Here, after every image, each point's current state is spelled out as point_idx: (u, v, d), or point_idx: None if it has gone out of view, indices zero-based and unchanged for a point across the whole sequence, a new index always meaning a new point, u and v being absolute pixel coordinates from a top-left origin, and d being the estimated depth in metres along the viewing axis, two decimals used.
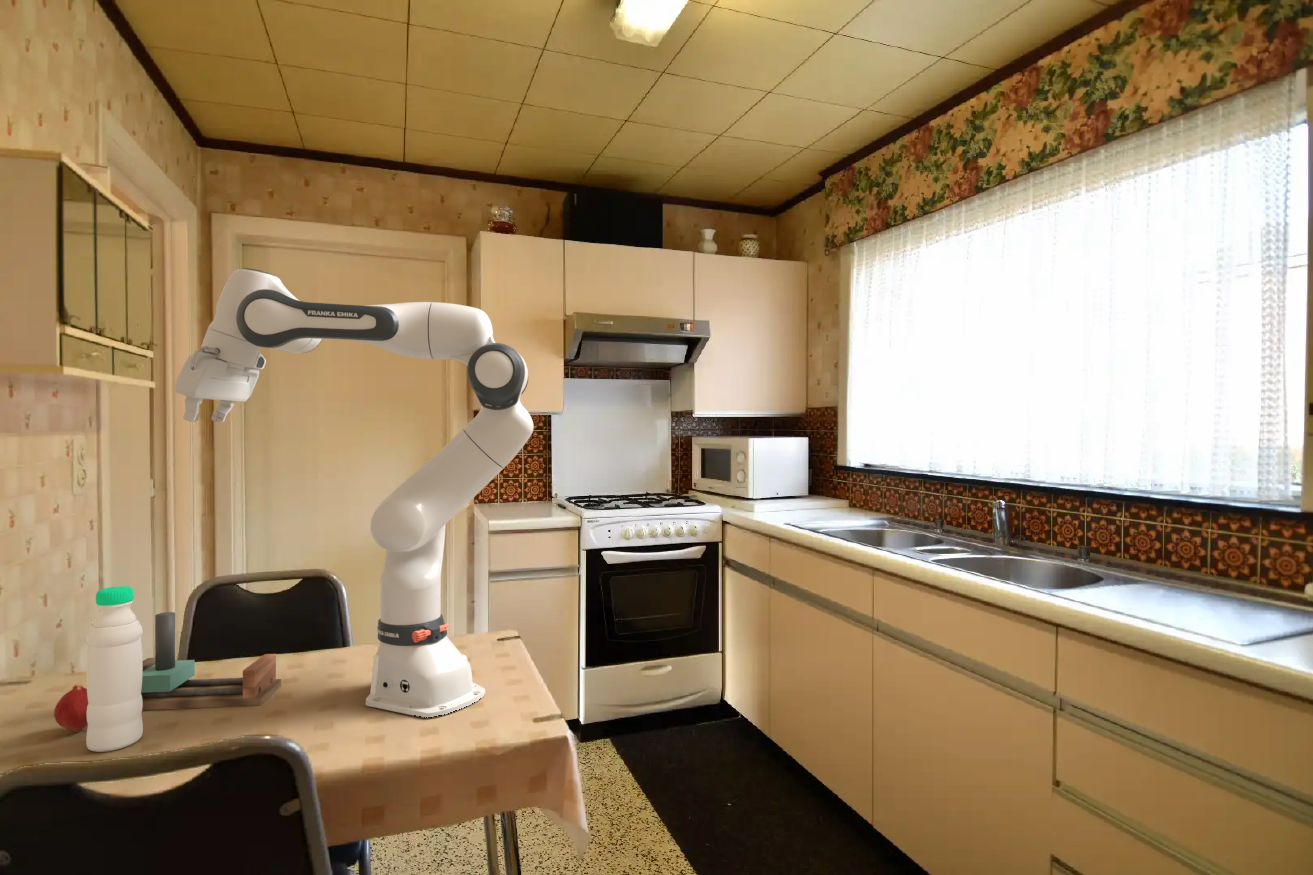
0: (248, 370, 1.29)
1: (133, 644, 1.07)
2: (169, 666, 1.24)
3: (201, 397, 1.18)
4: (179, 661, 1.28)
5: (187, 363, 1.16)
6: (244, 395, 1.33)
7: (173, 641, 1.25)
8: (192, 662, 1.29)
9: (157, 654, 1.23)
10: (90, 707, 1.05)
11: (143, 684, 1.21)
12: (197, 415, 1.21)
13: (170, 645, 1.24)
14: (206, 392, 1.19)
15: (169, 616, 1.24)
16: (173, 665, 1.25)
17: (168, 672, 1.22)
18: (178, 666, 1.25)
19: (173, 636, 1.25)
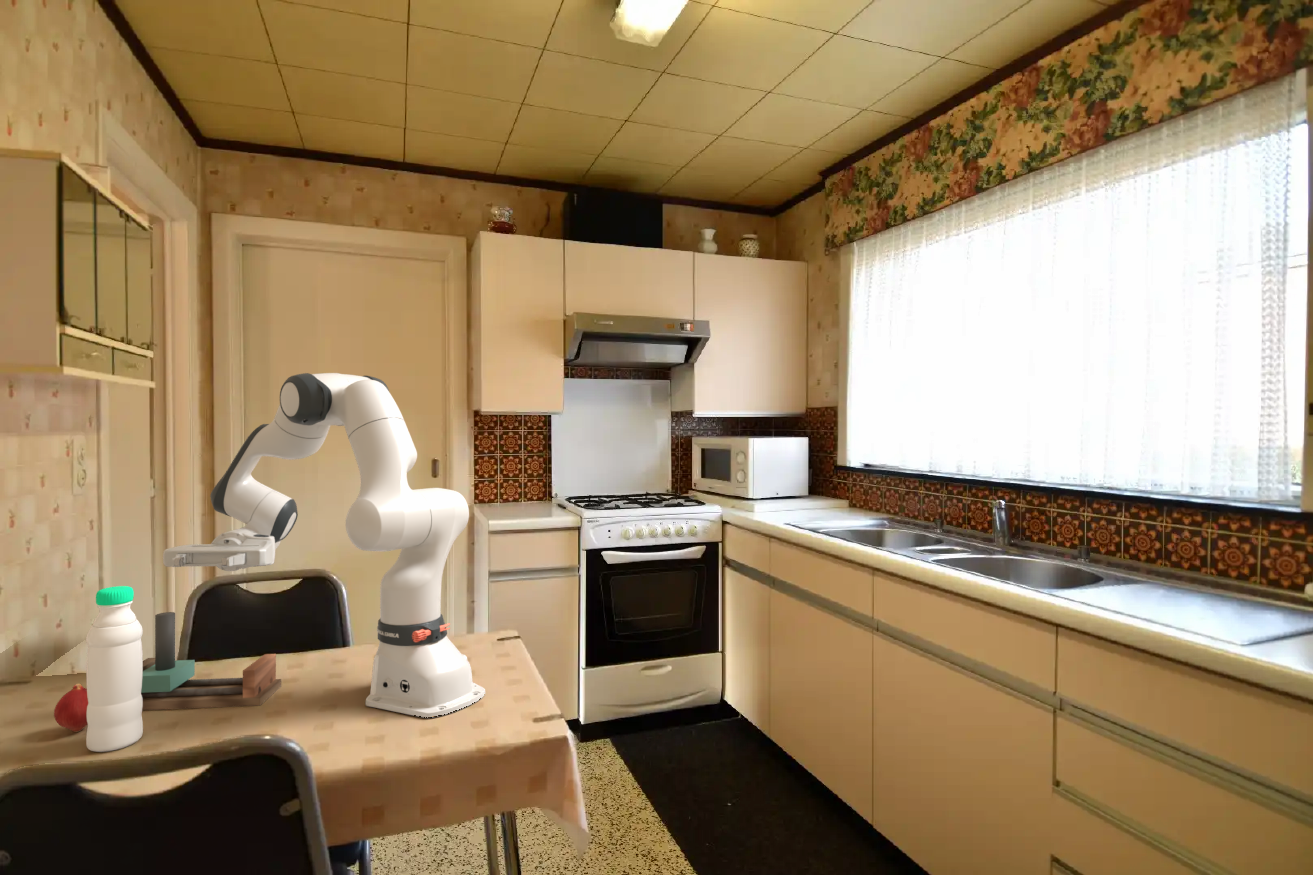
0: (245, 540, 1.48)
1: (133, 644, 1.07)
2: (169, 666, 1.24)
3: (176, 550, 1.41)
4: (179, 661, 1.28)
5: None
6: (254, 548, 1.44)
7: (173, 641, 1.25)
8: (192, 662, 1.29)
9: (157, 654, 1.23)
10: (90, 707, 1.05)
11: (143, 684, 1.21)
12: (180, 557, 1.37)
13: (170, 645, 1.24)
14: (182, 548, 1.42)
15: (169, 616, 1.24)
16: (173, 665, 1.25)
17: (168, 672, 1.22)
18: (178, 666, 1.25)
19: (173, 636, 1.25)
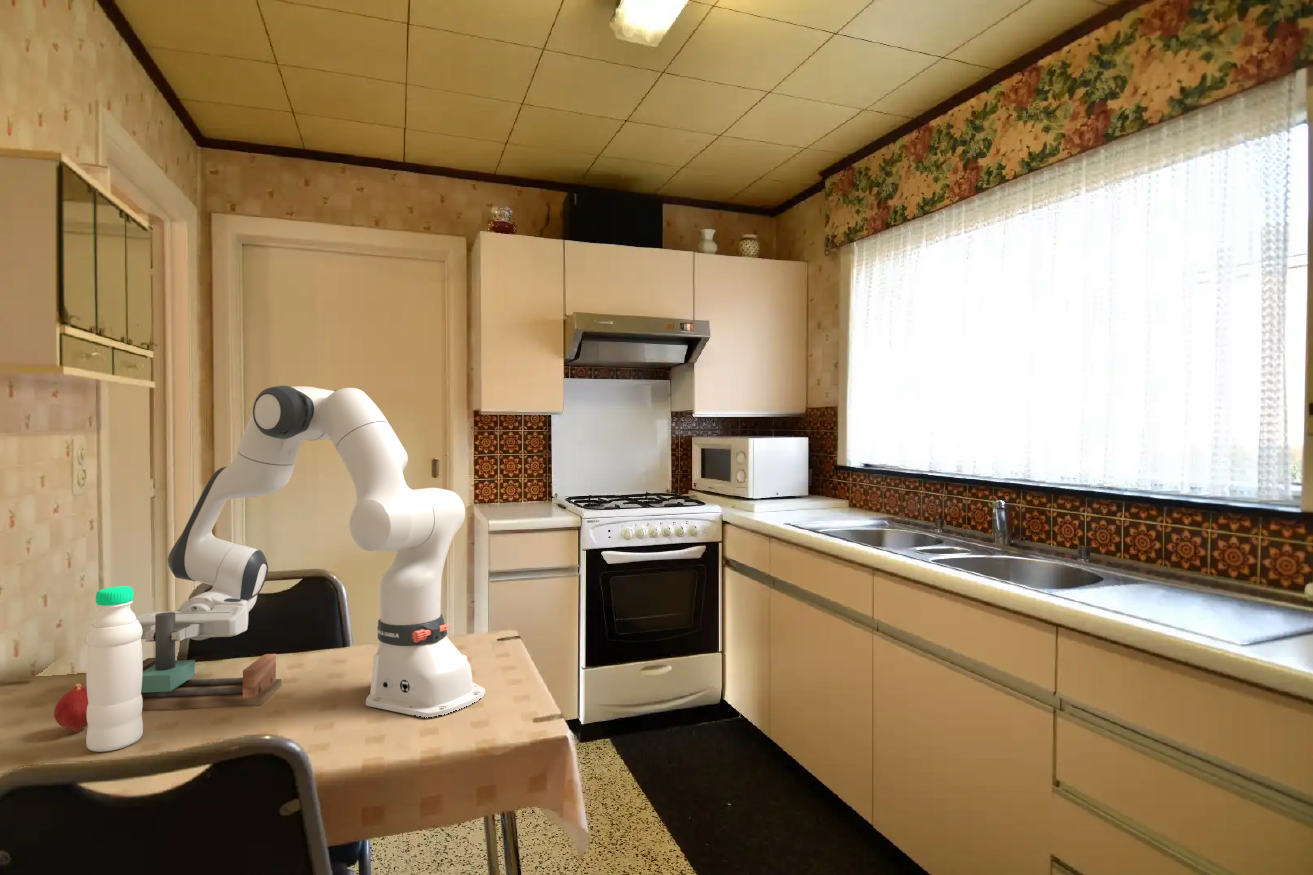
0: (215, 605, 1.35)
1: (133, 644, 1.07)
2: (169, 666, 1.24)
3: None
4: (180, 661, 1.28)
5: None
6: (223, 616, 1.31)
7: (173, 641, 1.25)
8: (193, 662, 1.29)
9: (157, 654, 1.23)
10: (90, 707, 1.05)
11: (143, 684, 1.21)
12: None
13: (170, 645, 1.24)
14: (144, 619, 1.29)
15: (169, 616, 1.24)
16: (173, 665, 1.25)
17: (169, 672, 1.22)
18: (179, 666, 1.25)
19: None
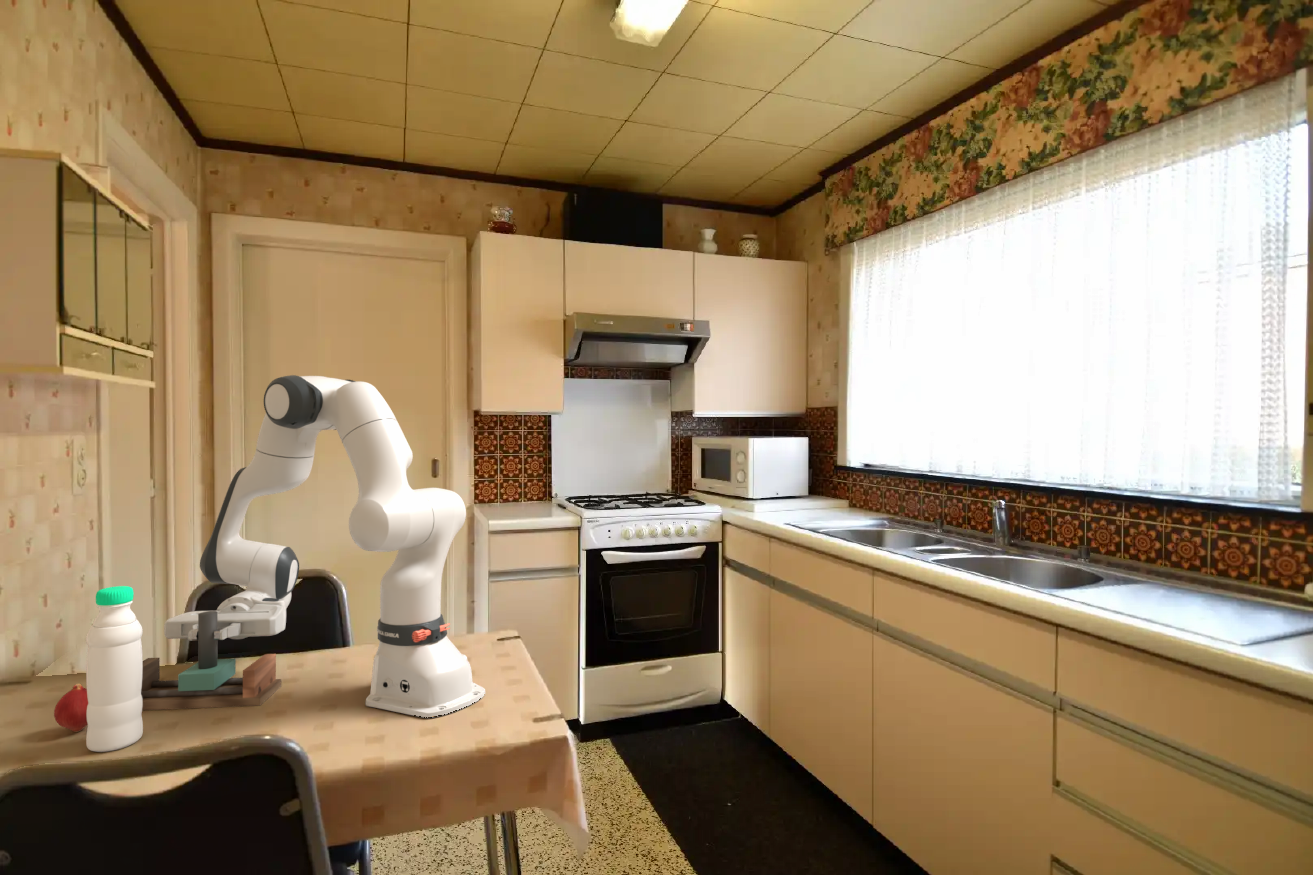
0: (253, 605, 1.36)
1: (133, 644, 1.07)
2: (212, 665, 1.25)
3: (179, 620, 1.29)
4: (221, 660, 1.29)
5: None
6: (263, 616, 1.32)
7: (216, 640, 1.26)
8: (234, 661, 1.30)
9: (200, 652, 1.24)
10: (90, 707, 1.05)
11: (187, 682, 1.22)
12: (197, 629, 1.26)
13: (213, 644, 1.25)
14: (185, 618, 1.30)
15: (212, 615, 1.25)
16: (216, 664, 1.26)
17: (212, 671, 1.23)
18: (221, 665, 1.26)
19: None
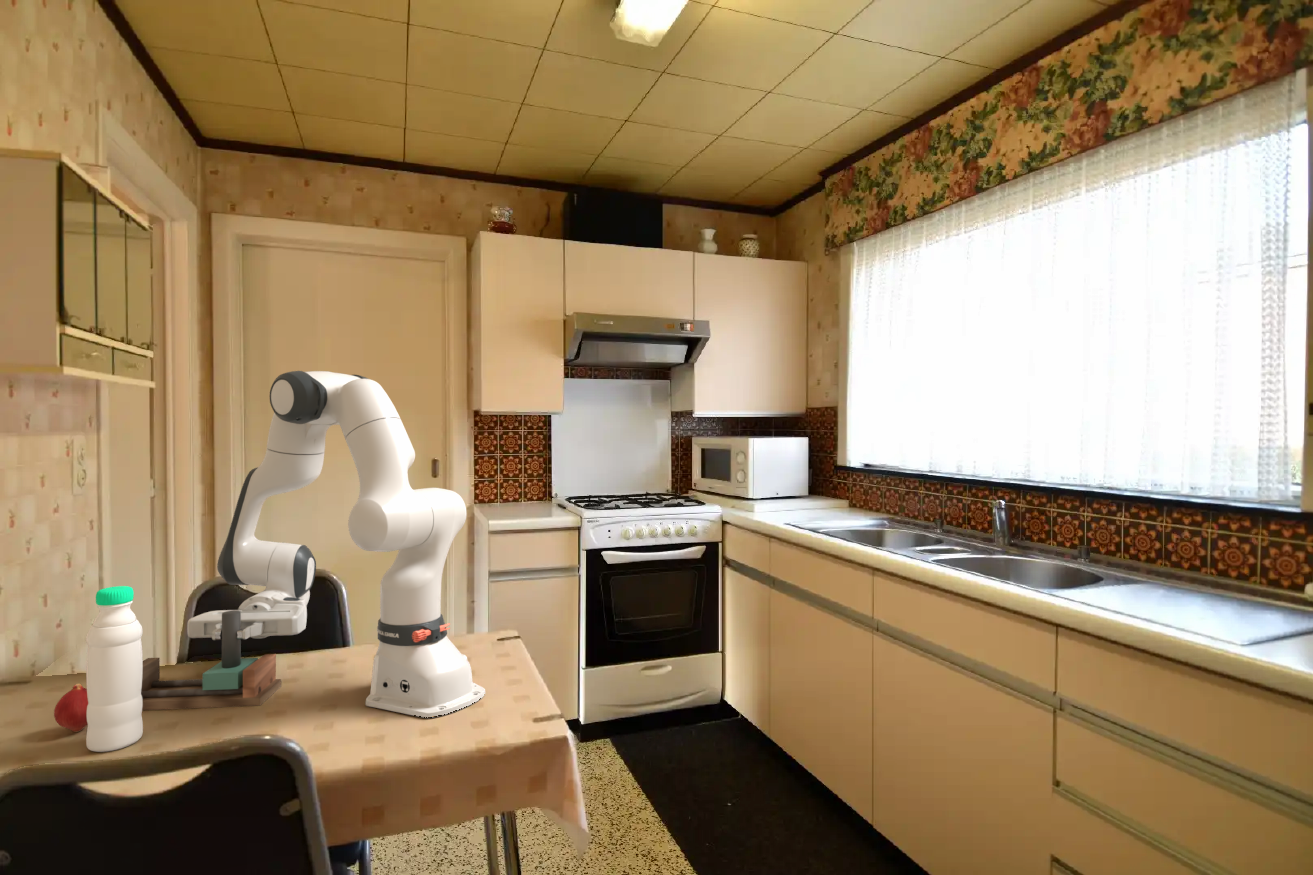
0: (275, 604, 1.37)
1: (133, 644, 1.07)
2: (235, 664, 1.26)
3: (201, 620, 1.29)
4: (243, 659, 1.30)
5: None
6: (285, 615, 1.32)
7: (239, 639, 1.26)
8: None
9: (223, 652, 1.25)
10: (90, 707, 1.05)
11: (211, 681, 1.22)
12: (221, 628, 1.26)
13: (236, 643, 1.26)
14: (208, 617, 1.30)
15: (235, 614, 1.25)
16: (239, 663, 1.26)
17: (236, 670, 1.24)
18: (244, 664, 1.27)
19: None
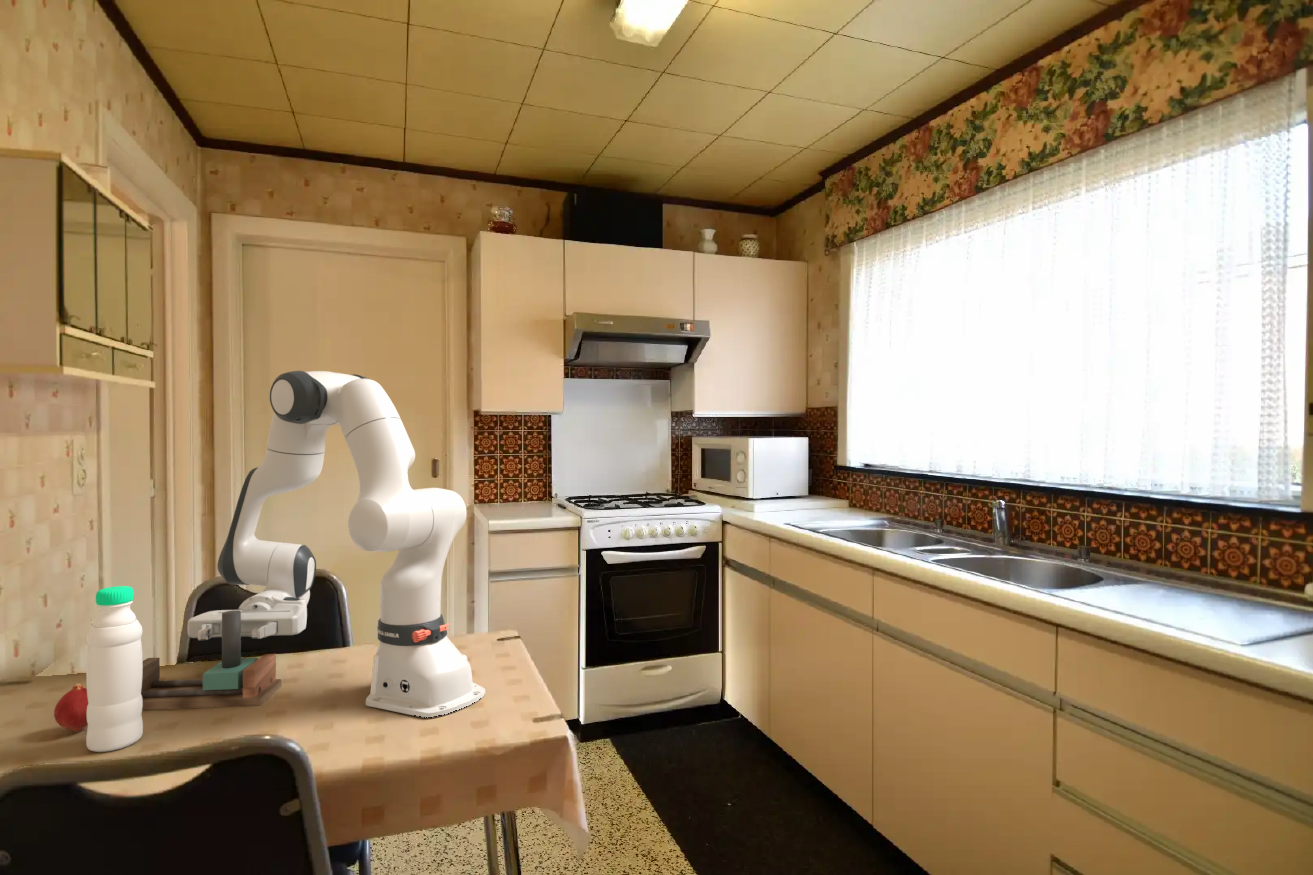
0: (275, 604, 1.37)
1: (133, 644, 1.07)
2: (235, 664, 1.26)
3: (202, 619, 1.29)
4: (244, 659, 1.30)
5: None
6: (285, 615, 1.32)
7: (239, 639, 1.26)
8: None
9: (224, 652, 1.25)
10: (90, 707, 1.05)
11: (212, 681, 1.22)
12: (206, 629, 1.26)
13: (236, 643, 1.26)
14: (208, 617, 1.30)
15: (235, 614, 1.25)
16: (239, 663, 1.26)
17: (236, 670, 1.24)
18: (244, 664, 1.27)
19: (239, 634, 1.26)
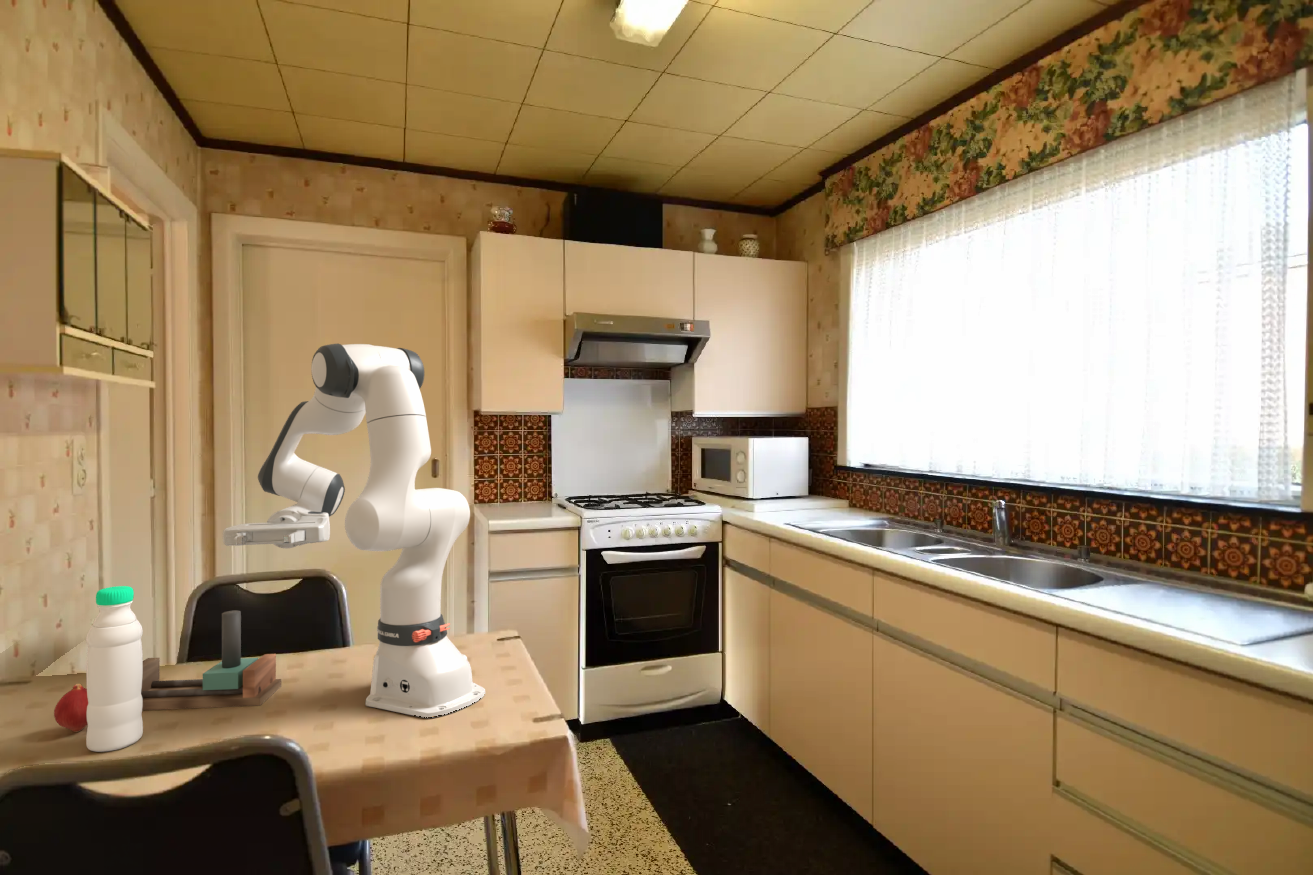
0: (301, 517, 1.49)
1: (133, 644, 1.07)
2: (235, 664, 1.26)
3: (236, 529, 1.42)
4: (244, 659, 1.30)
5: None
6: (312, 524, 1.45)
7: (239, 639, 1.26)
8: None
9: (224, 652, 1.25)
10: (90, 707, 1.05)
11: (212, 681, 1.22)
12: (241, 535, 1.38)
13: (236, 643, 1.26)
14: (241, 527, 1.43)
15: (235, 614, 1.25)
16: (239, 663, 1.26)
17: (236, 670, 1.24)
18: (244, 664, 1.27)
19: (239, 634, 1.26)
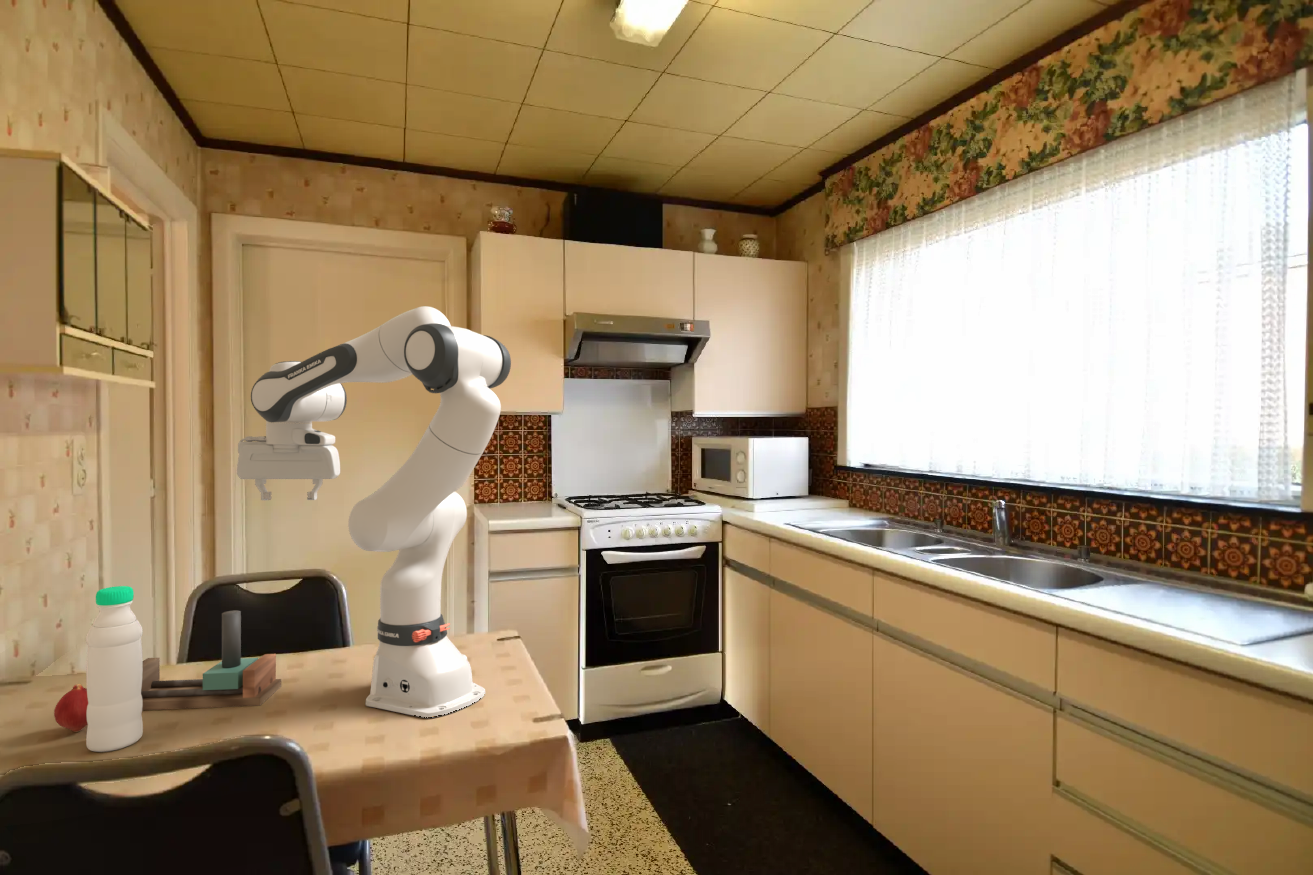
0: (301, 448, 1.44)
1: (133, 644, 1.07)
2: (235, 664, 1.26)
3: (250, 477, 1.43)
4: (244, 659, 1.30)
5: None
6: (322, 472, 1.45)
7: (239, 639, 1.26)
8: None
9: (224, 652, 1.25)
10: (90, 707, 1.05)
11: (212, 681, 1.22)
12: (265, 494, 1.45)
13: (236, 643, 1.26)
14: (253, 473, 1.43)
15: (235, 614, 1.25)
16: (239, 663, 1.26)
17: (236, 670, 1.24)
18: (244, 664, 1.27)
19: (239, 634, 1.26)
